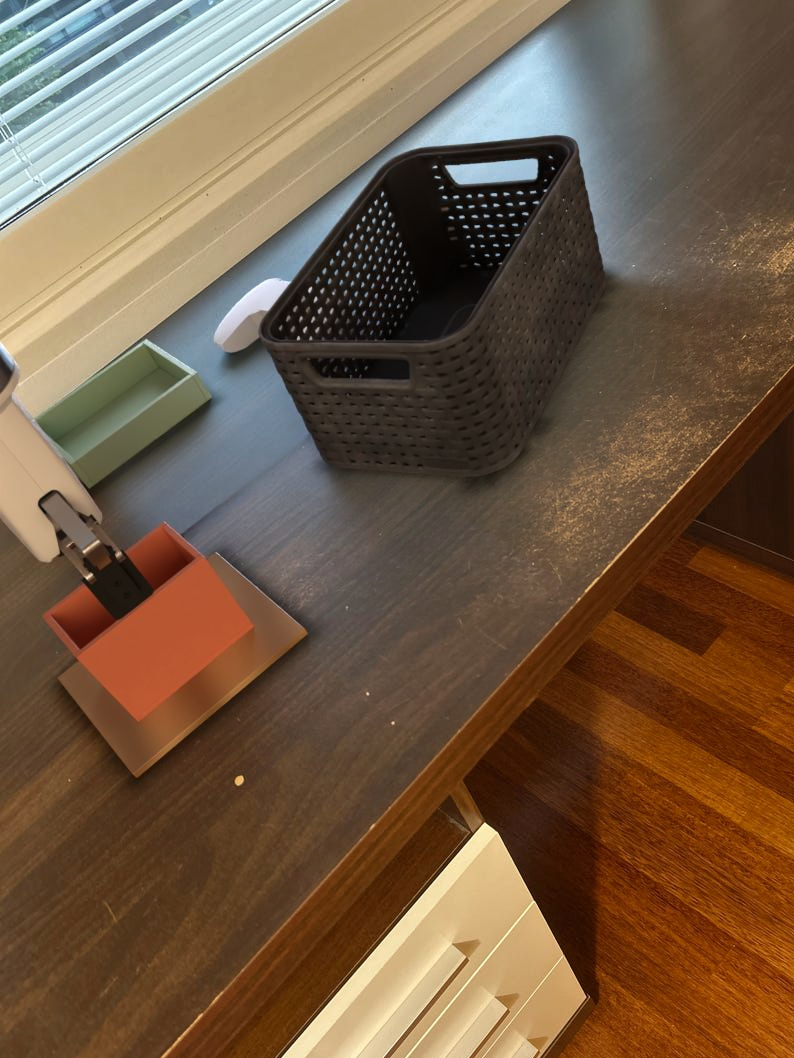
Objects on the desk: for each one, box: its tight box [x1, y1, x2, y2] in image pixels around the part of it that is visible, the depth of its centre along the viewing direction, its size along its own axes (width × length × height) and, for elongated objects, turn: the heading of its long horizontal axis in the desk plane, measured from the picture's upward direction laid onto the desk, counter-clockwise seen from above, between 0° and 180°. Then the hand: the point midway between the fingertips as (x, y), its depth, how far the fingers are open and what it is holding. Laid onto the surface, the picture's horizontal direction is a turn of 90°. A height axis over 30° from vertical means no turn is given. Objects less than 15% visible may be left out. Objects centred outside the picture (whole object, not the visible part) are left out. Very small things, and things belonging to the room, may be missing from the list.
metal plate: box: [57, 551, 309, 779], centre depth 79 cm, size 16×14×1 cm
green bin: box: [33, 338, 213, 489], centre depth 100 cm, size 15×11×4 cm
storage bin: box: [258, 134, 608, 478], centre depth 87 cm, size 29×19×13 cm
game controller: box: [213, 277, 351, 361], centre depth 102 cm, size 14×4×10 cm
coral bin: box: [41, 521, 254, 722], centre depth 76 cm, size 11×6×8 cm, turn 132°
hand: (104, 573), depth 72 cm, fingers open, 9 cm apart
